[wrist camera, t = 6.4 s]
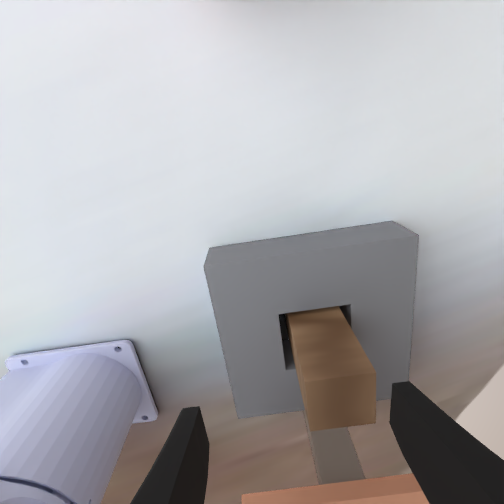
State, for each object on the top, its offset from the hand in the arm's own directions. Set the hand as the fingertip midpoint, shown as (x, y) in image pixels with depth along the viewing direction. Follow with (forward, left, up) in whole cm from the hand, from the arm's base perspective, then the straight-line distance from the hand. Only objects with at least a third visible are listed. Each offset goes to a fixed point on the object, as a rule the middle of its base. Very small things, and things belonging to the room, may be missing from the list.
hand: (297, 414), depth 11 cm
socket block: (+2, -4, -10) cm, 11 cm away
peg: (+2, -2, -10) cm, 10 cm away
